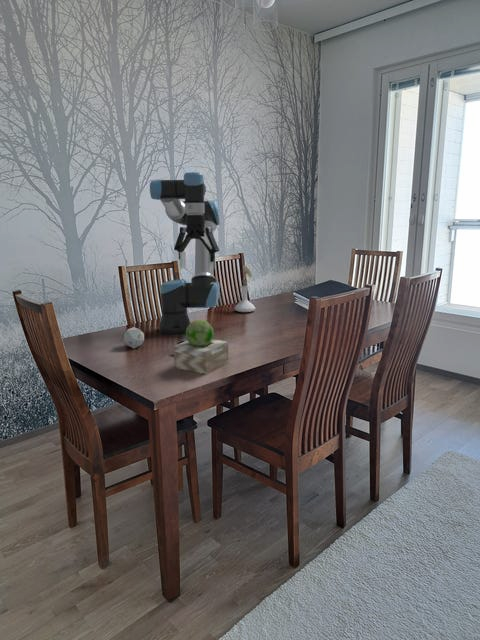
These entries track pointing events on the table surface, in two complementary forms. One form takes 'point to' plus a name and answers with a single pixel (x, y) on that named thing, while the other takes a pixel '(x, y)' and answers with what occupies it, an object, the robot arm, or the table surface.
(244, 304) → the flower in vase
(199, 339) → the decorative ball
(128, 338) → the grey faceted polyhedron
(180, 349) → the display stand
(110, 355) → the table surface
